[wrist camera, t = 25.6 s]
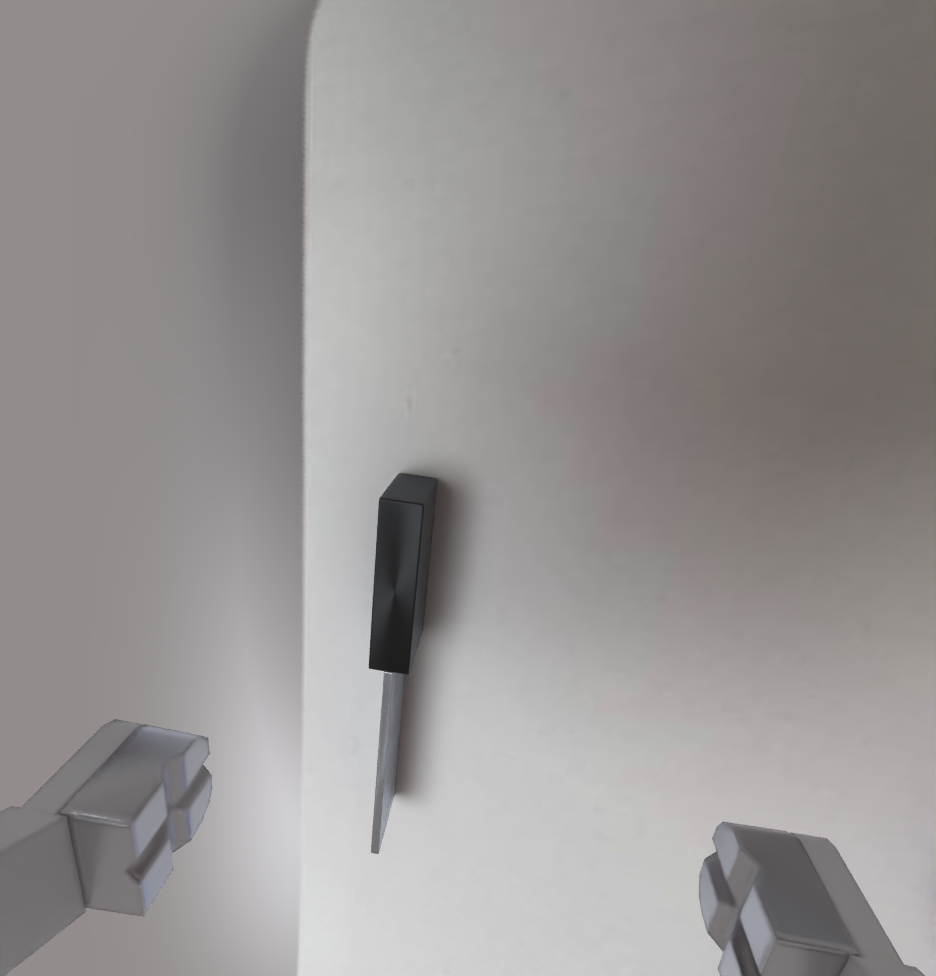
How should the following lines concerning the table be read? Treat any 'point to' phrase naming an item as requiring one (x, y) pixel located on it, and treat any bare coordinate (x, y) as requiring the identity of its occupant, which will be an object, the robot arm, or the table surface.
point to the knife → (398, 615)
